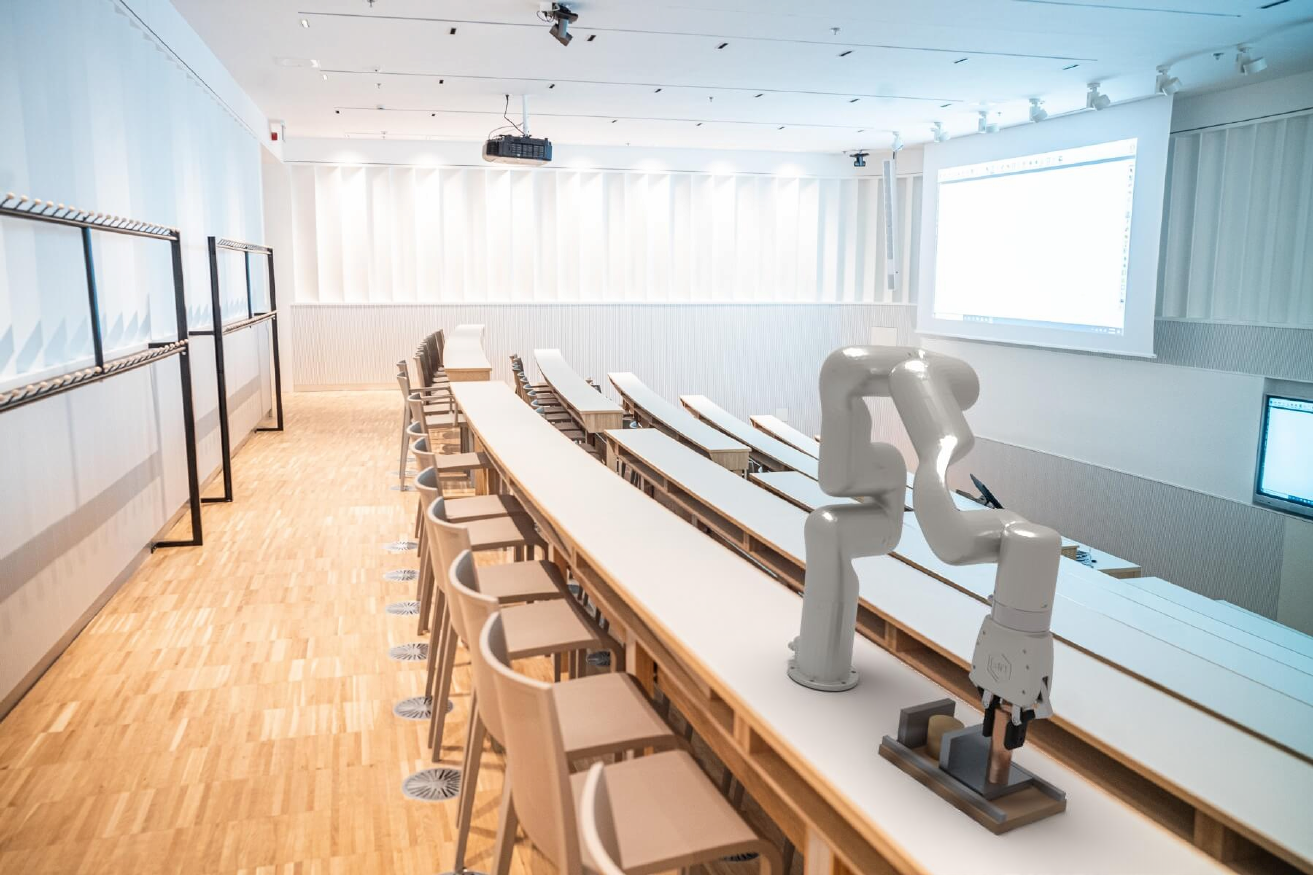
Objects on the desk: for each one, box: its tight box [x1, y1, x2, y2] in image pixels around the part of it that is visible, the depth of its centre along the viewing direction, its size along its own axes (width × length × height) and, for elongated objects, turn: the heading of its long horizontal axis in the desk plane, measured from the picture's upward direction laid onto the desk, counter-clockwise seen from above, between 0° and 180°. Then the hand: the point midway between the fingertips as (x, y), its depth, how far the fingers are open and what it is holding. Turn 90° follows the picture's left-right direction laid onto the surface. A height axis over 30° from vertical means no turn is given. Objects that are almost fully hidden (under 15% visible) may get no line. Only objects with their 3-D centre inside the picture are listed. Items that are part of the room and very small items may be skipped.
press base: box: [877, 697, 1068, 836], centre depth 131 cm, size 22×14×8 cm, turn 30°
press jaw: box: [938, 704, 1033, 801], centre depth 128 cm, size 8×10×12 cm
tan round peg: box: [925, 715, 966, 761], centre depth 135 cm, size 5×5×5 cm
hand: (1002, 739), depth 126 cm, fingers closed on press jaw, 3 cm apart
